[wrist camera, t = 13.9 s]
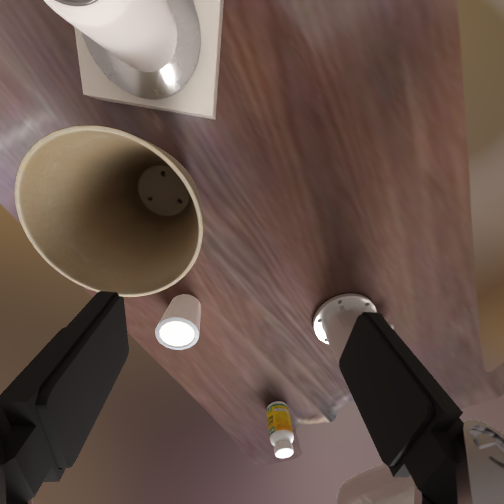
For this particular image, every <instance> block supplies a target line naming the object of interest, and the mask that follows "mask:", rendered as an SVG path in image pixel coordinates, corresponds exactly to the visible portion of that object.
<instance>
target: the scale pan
mask: <svg viewBox="0 0 504 504" xmlns="http://www.w3.org/2000/svg"><path fill="white" fill-rule="evenodd" d="M167 2H168V4H169V6H170V9H171V11H172V14H173V16H174V20H175V23H176V29H177V44H176V49H175V52H174V55H173V57H172V59H171V60H170V62H169V63H168V64H167V65H166V66H165V67H164V68H162V69H160V70H158V71H155V72H143V71H139V70H136V69H134V68H132V67H131V66H129V65H128V64H126V63H125V62H123V61H122V60H120V59H119V58H117V57H116V56H115V55H113V54H112V53H110V52H109V51H108V50H106V49H105V48H103V47H102V46H101V45H99V44H98V43H96V42H95V41H94V40H92V39H91V38H90V37H88V36H87V35H85V34H84V33H83V32H82V35H83V38H84V41H85V43H86V46H87V48H88V50H89V52H90V54H91V56H92V58H93V59H94V61H95V63H96V64H97V66H98V67H99V68H100V69H101V71H102V72H103V73H104V74H105V75H106V76H107V77H108V79H110V80H111V81H112V82H113V83H114V84H115V85H117V86H118V87H120V88H121V89H122V90H124V91H126V92H128V93H130V94H132V95H135V96H137V97H140V98H144V99H150V100H160V99H165V98H168V97H171V96H173V95H175V94H177V93H178V92H180V91H181V90H182V89H183V88H184V87H185V86H186V85H187V84H188V83H189V81H190V80H191V78H192V77H193V75H194V73H195V71H196V68H197V65H198V62H199V58H200V52H201V30H200V24H199V19H198V15H197V12H196V8H195V5H194V2H193V0H167Z"/></svg>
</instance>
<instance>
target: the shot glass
mask: <svg viewBox="0 0 504 504" xmlns="http://www.w3.org/2000/svg"><path fill="white" fill-rule="evenodd" d="M200 314H201V304H200V302H199V300H198V299H197V298H195V297H194V296H191V295H189V294H181V295H178V296H176V297H174V298H173V299H172V301H171V302H170V304H169V306H168V308H167V309H166V311H165V313H164V315H163V317H162V318H161V320H160V322H159V324H158V325H157V327H156V329H155V334H156V338H157V339H158V341H159V343H161V344H162V345H164V346H165V347H167V348H170V349H174V350H183V349H187V348H190V347H191V346H193V345H194V344H196V342H197V340H198V339H199V329H200Z"/></svg>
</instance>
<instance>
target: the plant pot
mask: <svg viewBox="0 0 504 504" xmlns="http://www.w3.org/2000/svg"><path fill="white" fill-rule="evenodd" d="M162 172H164V173H165V175H164V176H163V175H162V174H161V173H162ZM149 198H152V200H149ZM179 199H181V201H182V202H179V201H178V200H179ZM15 204H16V209H17V213H18V216H19V220H20V222H21V225H22V227H23V229H24V231H25V233H26V235H27V237H28V238H29V240H30V241H31V243H32V244H33V246H34V247H35V249H36V250H37V251H38V252H39V254H40V255H41V256H42V257H43V258H44V259H45V260H46V261H47V262H48V263H49V264H50V265H51V266H52V267H53V268H54V269H56V270H57V271H58V272H59V273H61V274H62V275H64V276H65V277H67V278H68V279H70V280H71V281H73V282H75V283H77V284H79V285H81V286H83V287H85V288H87V289H90V290H93V291H96V292H99V291H108V292H117V293H118V294H119V296H122V297H137V296H145V295H150V294H153V293H157V292H160V291H162V290H165V289H167V288H169V287H170V286H172V285H174V284H175V283H177V282H178V281H179V280H181V279H182V278H183V277H184V276H185V275H186V274H187V273H188V271H189V270H190V269H191V267H192V266H193V264H194V262H195V261H196V259H197V256H198V254H199V251H200V248H201V243H202V237H203V216H202V206H201V201H200V196H199V193H198V190H197V188H196V185H195V183H194V181H193V179H192V178H191V176H190V174H189V173H188V172H187V170H186V169H185V168H184V167H183V166H182V165H181V164H180V163H179V162H178V161H177V160H176V159H175V158H173V157H172V156H171V155H170V154H168V153H167V152H165V151H164V150H162V149H161V148H159V147H157V146H155V145H153V144H151V143H149V142H147V141H145V140H143V139H141V138H139V137H137V136H134V135H132V134H129V133H127V132H124V131H121V130H118V129H114V128H109V127H105V126H94V125H85V126H73V127H68V128H64V129H60V130H57V131H55V132H53V133H50V134H48V135H46V136H45V137H43V138H42V139H40V140H39V141H38V142H37V143H35V144H34V145H33V146H32V147H31V148H30V150H29V151H28V152H27V154H26V155H25V157H24V158H23V160H22V162H21V164H20V166H19V168H18V171H17V175H16V180H15Z"/></svg>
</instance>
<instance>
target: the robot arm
mask: <svg viewBox="0 0 504 504" xmlns="http://www.w3.org/2000/svg"><path fill="white" fill-rule="evenodd" d="M393 328H394V326H393V324H392V323H387V322H386V320H385V319H384V318H383V317H382V316H381V315H380V314H379V313H377V309H376V307H375V305H374V304H373V303H372V302H371V301H370V300H369V299H368V298H367V297H365V296H363V295H359V294H353V293H349V294H342V295H338V296H335V297H333V298H331V299H329V300H328V301H326V302H325V303H324V304H322V305H321V306H320V308H319V309H318V310H317V312H316V313H315V316H314V318H313V329H314V331H315V334H316V335H317V337H318V338H319V339H320V340H321V341H322V342H324V343H326V344H329V345H330V348H331V350H332V352H333V354H334V356H335V358H336V361H337V363H338V365H339V367H340V370H341V372H342V374H343V377H344V379H345V381H346V383H347V385H348V388H349V390H350V392H351V394H352V396H353V398H354V401H355V402H356V405H357V407H358V409H359V411H360V413H361V416H362V418H363V420H364V422H365V424H366V427H367V429H368V431H369V433H370V435H371V438H372V440H373V442H374V444H375V446H376V448H377V451H378V452H379V455H380V457H381V459H382V461H383V462H384V463H382V464H380V465H378V466H376V467H373V468H371V469H368V470H366V471H364V472H362V473H360V474H357V475H355V476H353V477H352V478H350V479H348V480H346V481H345V482H344V483H343V484H342V485H341V487H340V488H339V490H338V493H337V499H336V504H504V434H502V433H501V432H500V431H498V430H496V429H495V428H493V427H492V426H490V425H488V424H486V423H484V422H482V421H478V420H474V419H470V420H466V421H465V422H464V423H463V422H462V421H461V419H460V418H459V417H460V416H461V414H462V413H463V412H462V411H461V410H460V409H459V407H458V406H457V405H456V404H455V403H454V401H453V400H452V399H451V398H450V397H449V395H448V394H447V393H446V392H445V391H444V390H443V388H442V387H441V386H440V385H439V384H438V382H437V381H436V380H435V379H434V378H433V376H432V375H431V374H430V373H429V372H428V370H427V369H426V368H425V367H424V366H423V364H422V363H421V362H420V361H419V360H418V359H417V357H416V356H415V355H414V354H413V353H412V351H411V350H410V349H409V348H408V347H407V345H406V344H405V343H404V342H403V341H402V339H401V338H400V337H399V336H398V335H397V333H396V332H395V331H394V330H393ZM128 351H129V346H128V337H127V327H126V317H125V307H124V299H123V297H121V296H119V294H118V293H117V292H108V291H99V292H98V293H97V294H96V295H95V296H94V297H93V298H92V299H91V300H90V301H89V303H88V304H87V305H86V306H85V307H84V308H83V309H82V310H81V311H80V312H79V314H78V315H77V316H76V317H75V318H74V319H73V320H72V321H71V322H70V323H69V325H68V326H67V327H65V328H63V329H61V330H60V331H59V332H58V333H57V334H56V335H55V337H54V338H53V339H52V340H51V341H50V342H49V343H48V344H47V345H46V346H45V347H44V348H43V349H42V350H41V352H40V353H39V354H38V355H37V356H36V357H35V358H34V359H33V360H32V361H31V362H30V363H29V365H28V366H27V367H26V368H25V369H24V370H23V371H22V372H21V373H20V374H19V375H18V376H17V377H16V379H15V380H14V381H13V382H12V383H11V384H10V385H9V386H8V387H7V389H5V390H4V391H3V393H2V394H1V395H0V504H32V498H33V497H35V495H36V493H37V491H38V490H39V488H40V486H41V484H42V483H43V482H57V481H60V479H61V477H62V474H63V473H64V471H65V469H66V468H70V467H71V466H72V465H73V464H74V463H75V461H76V459H77V457H78V455H79V453H80V451H81V449H82V447H83V445H84V443H85V441H86V439H87V437H88V435H89V433H90V431H91V429H92V427H93V425H94V423H95V421H96V419H97V417H98V415H99V413H100V411H101V409H102V407H103V405H104V403H105V401H106V399H107V397H108V395H109V393H110V391H111V389H112V387H113V385H114V383H115V381H116V379H117V377H118V375H119V373H120V371H121V369H122V367H123V365H124V363H125V361H126V359H127V356H128Z"/></svg>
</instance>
